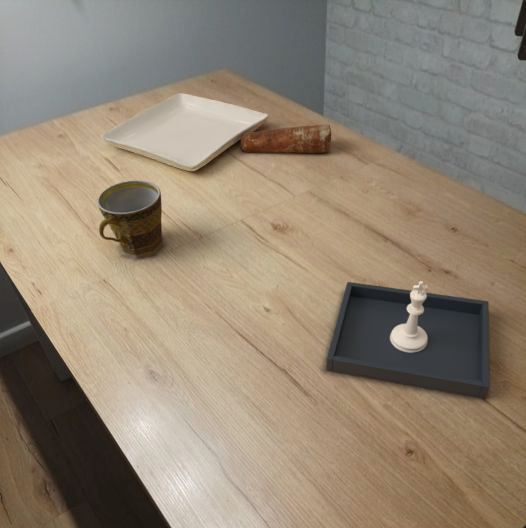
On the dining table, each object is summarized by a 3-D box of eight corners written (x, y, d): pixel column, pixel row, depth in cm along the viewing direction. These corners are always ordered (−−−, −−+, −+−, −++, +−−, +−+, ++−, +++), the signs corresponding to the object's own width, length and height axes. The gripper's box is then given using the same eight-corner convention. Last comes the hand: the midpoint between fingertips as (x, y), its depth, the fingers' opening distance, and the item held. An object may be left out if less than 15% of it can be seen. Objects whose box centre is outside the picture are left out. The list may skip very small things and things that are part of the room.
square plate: (101, 152, 114) (96, 134, 111) (182, 106, 129) (179, 90, 126) (195, 183, 103) (192, 164, 100) (271, 129, 117) (271, 111, 115)
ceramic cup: (136, 226, 93) (122, 175, 86) (182, 238, 90) (172, 186, 83) (90, 268, 86) (71, 215, 78) (139, 283, 82) (124, 230, 75)
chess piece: (387, 326, 72) (397, 270, 64) (423, 326, 71) (438, 269, 64) (392, 353, 68) (403, 296, 61) (430, 352, 68) (446, 295, 61)
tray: (483, 315, 73) (488, 301, 71) (483, 401, 63) (489, 387, 61) (346, 295, 78) (347, 281, 76) (325, 372, 68) (326, 358, 66)
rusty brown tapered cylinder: (330, 158, 107) (331, 131, 103) (239, 157, 109) (237, 131, 105) (331, 144, 111) (332, 118, 107) (244, 143, 113) (242, 117, 109)
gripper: (637, -135, 44) (565, 70, 56) (611, -151, 53) (553, 29, 65) (542, -132, 45) (491, 67, 57) (532, -147, 55) (490, 27, 66)
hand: (524, 46), depth 61 cm, fingers open, 8 cm apart
